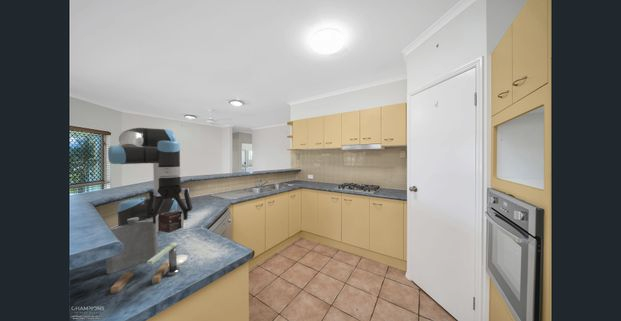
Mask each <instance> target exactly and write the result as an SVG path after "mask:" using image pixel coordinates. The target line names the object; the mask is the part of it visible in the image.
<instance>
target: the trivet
mask: <svg viewBox="0 0 621 321" xmlns="http://www.w3.org/2000/svg"><path fill="white" fill-rule="evenodd" d="M176 256H177V267H178V266H180V265H182V264H184V263H186V261H188V255H187V254H176ZM165 263H168V269H169V257H168V258H166V259H165V260H163V261H162V263H161V265H162V264H165Z"/></svg>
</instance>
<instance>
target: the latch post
mask: <svg viewBox="0 0 621 321" xmlns="http://www.w3.org/2000/svg"><path fill="white" fill-rule="evenodd" d="M176 255H177V247H175V248H173V249H171V250H170V251H168V258H169V268H168V269H167V270H166V272H165V276H166V277H172V276H175V275H177V274H179V273H180V272H181V268H180V267H178V266H177V256H176Z"/></svg>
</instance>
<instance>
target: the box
mask: <svg viewBox="0 0 621 321" xmlns="http://www.w3.org/2000/svg"><path fill="white" fill-rule="evenodd" d="M182 212H183V211H182V210H181V211H180V210H176V211H170V212H166V213H162V214H159V232H162V233H168V234H169V233H172V232H175V231H177V230H180V229H183V228H182V227H181V213H182Z"/></svg>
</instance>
